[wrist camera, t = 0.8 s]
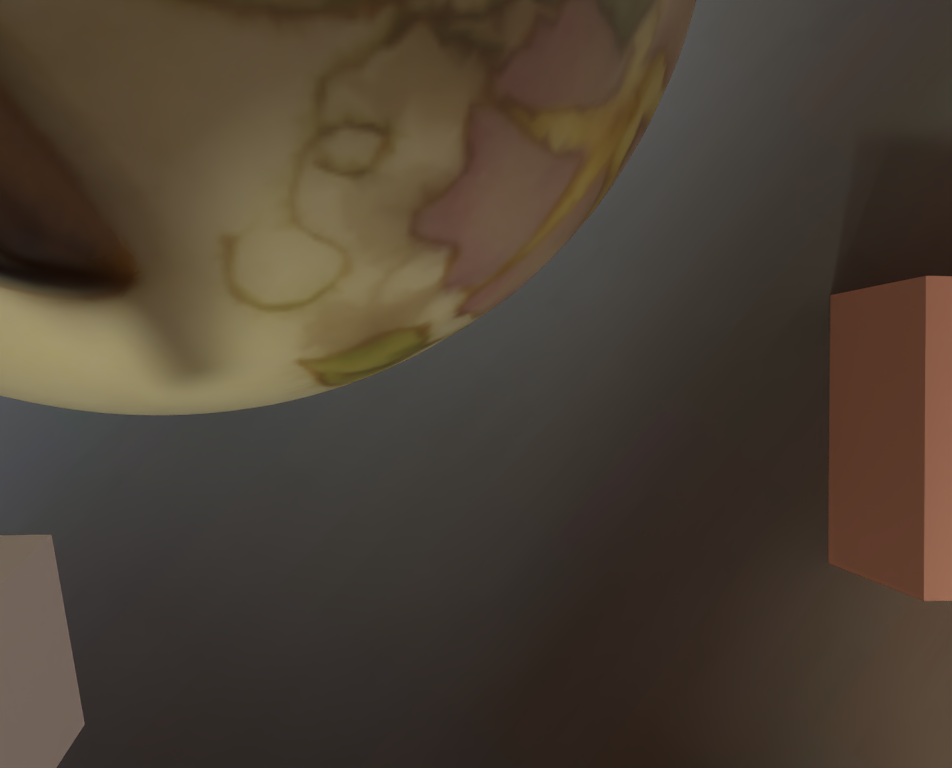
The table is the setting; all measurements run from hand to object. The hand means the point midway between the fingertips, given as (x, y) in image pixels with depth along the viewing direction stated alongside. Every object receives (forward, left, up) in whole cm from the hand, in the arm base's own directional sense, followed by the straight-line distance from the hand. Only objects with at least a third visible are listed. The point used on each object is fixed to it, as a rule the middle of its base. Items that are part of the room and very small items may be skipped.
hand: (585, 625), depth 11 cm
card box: (+2, -16, -18) cm, 24 cm away
